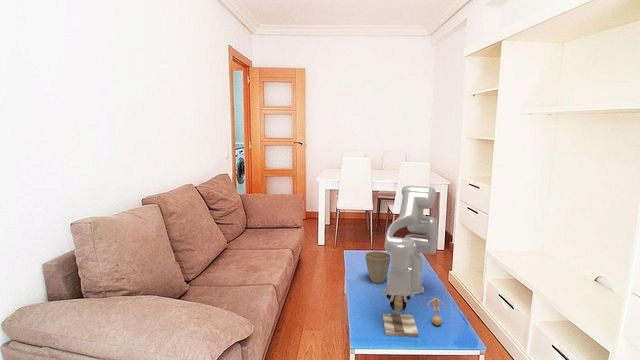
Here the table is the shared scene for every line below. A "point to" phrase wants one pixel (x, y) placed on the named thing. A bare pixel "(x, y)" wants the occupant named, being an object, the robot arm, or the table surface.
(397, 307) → the brown cylinder
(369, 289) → the table surface
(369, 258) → the plant pot
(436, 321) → the figurine
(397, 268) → the robot arm
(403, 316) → the floor board
